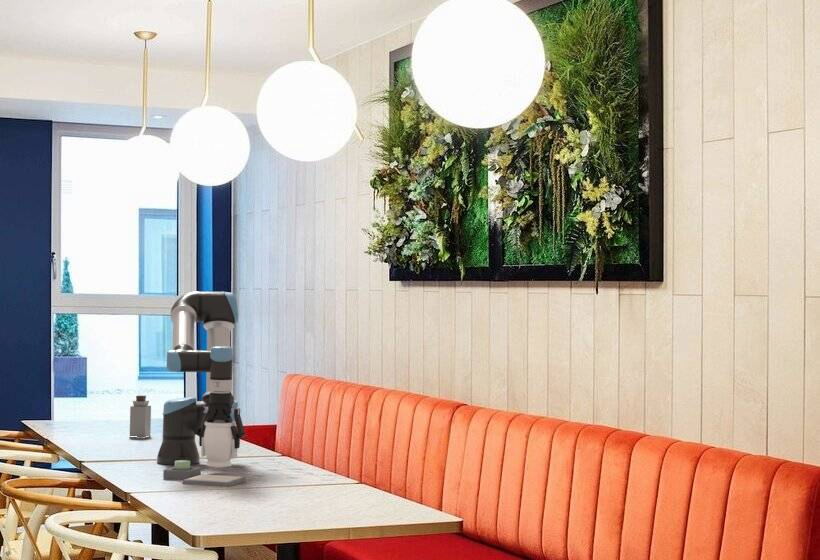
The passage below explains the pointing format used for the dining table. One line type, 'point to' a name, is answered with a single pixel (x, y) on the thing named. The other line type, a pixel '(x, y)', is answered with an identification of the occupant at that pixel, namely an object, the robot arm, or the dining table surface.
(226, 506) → the dining table surface
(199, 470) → the button housing
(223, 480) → the board
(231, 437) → the jar
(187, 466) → the button
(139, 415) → the perfume bottle
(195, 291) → the robot arm
